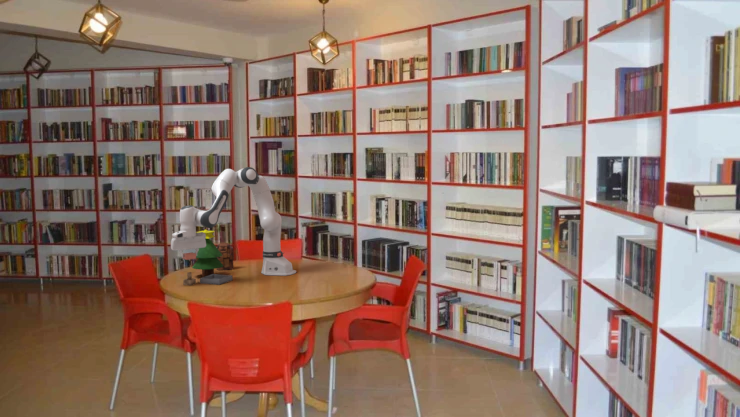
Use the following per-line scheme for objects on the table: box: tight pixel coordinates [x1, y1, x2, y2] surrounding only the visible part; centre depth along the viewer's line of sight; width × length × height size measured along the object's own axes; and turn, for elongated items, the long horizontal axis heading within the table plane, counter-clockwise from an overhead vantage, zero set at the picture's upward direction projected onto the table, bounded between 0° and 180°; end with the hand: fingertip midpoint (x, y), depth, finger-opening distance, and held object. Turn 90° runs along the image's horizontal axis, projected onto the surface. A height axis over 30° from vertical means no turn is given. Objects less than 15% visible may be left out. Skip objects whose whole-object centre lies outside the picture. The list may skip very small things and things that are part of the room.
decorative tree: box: [191, 229, 223, 278], centre depth 380 cm, size 19×19×30 cm
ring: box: [182, 251, 197, 261], centre depth 356 cm, size 6×6×3 cm
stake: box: [182, 271, 197, 286], centre depth 357 cm, size 5×5×7 cm
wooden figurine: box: [216, 242, 235, 271], centre depth 403 cm, size 12×6×18 cm, turn 100°
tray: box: [199, 273, 233, 286], centre depth 364 cm, size 14×14×3 cm
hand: (189, 256), depth 356 cm, fingers closed on ring, 6 cm apart
